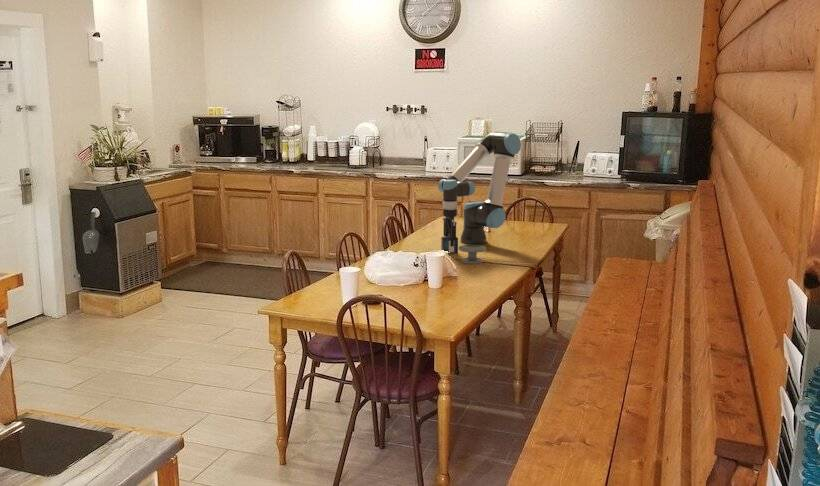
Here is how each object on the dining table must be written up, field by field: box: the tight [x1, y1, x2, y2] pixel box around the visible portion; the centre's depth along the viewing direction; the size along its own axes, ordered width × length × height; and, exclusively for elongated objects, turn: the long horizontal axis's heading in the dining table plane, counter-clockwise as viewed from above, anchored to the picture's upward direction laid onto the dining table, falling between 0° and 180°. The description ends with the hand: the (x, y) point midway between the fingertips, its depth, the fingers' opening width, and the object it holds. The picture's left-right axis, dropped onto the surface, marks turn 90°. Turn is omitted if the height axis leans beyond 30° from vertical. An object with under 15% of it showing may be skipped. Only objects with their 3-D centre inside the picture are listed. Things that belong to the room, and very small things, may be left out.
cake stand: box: [458, 244, 487, 265], centre depth 381 cm, size 14×14×8 cm
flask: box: [440, 234, 459, 255], centre depth 400 cm, size 9×3×11 cm, turn 74°
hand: (449, 250), depth 400 cm, fingers closed on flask, 5 cm apart
